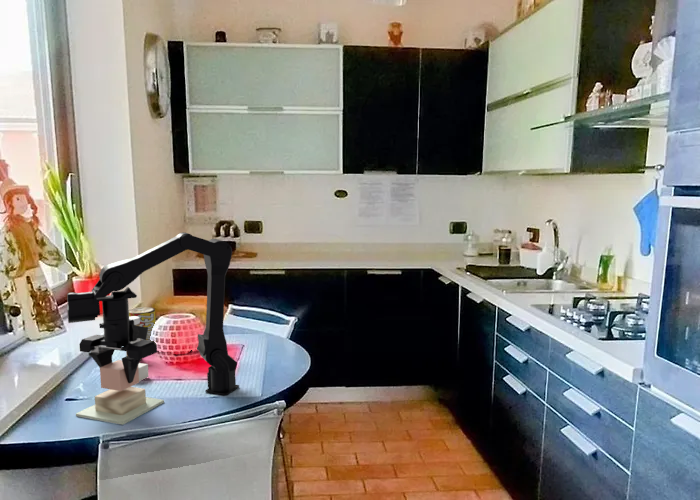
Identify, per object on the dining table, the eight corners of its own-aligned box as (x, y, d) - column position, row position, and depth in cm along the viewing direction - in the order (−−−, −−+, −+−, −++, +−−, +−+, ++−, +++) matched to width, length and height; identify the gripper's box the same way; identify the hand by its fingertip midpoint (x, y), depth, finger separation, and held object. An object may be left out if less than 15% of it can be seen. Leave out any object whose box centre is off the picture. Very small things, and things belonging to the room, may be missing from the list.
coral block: (139, 382, 137) (138, 362, 136) (121, 391, 131) (119, 370, 131) (119, 379, 139) (118, 359, 139) (101, 387, 134) (99, 367, 133)
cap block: (148, 378, 158) (147, 364, 157) (138, 382, 154) (137, 368, 154) (137, 376, 159) (136, 362, 159) (126, 381, 155) (126, 367, 155)
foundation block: (146, 402, 138) (145, 388, 138) (122, 415, 131) (121, 400, 130) (120, 398, 141) (119, 384, 141) (95, 410, 134) (94, 396, 133)
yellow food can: (122, 348, 186) (120, 312, 185) (138, 340, 195) (136, 306, 193) (146, 349, 184) (144, 313, 183) (161, 342, 193) (160, 307, 191)
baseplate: (164, 402, 140) (164, 399, 140) (122, 424, 127) (122, 422, 127) (119, 394, 145) (119, 392, 145) (75, 416, 132) (75, 413, 132)
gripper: (170, 313, 137) (173, 374, 139) (111, 307, 144) (114, 366, 146) (138, 323, 127) (142, 390, 129) (75, 317, 134) (80, 380, 136)
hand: (120, 381), depth 135 cm, fingers closed on coral block, 6 cm apart
